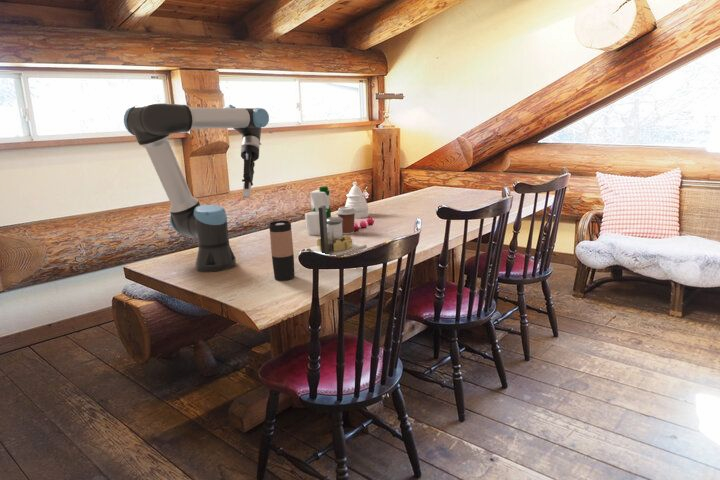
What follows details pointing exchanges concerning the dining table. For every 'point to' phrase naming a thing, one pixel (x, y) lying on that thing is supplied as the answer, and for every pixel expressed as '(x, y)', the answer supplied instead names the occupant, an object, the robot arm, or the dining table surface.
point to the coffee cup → (347, 219)
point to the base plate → (355, 246)
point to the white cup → (312, 223)
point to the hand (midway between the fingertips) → (246, 196)
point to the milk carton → (321, 200)
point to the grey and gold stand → (323, 243)
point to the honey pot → (357, 202)
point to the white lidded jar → (334, 229)
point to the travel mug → (282, 250)
